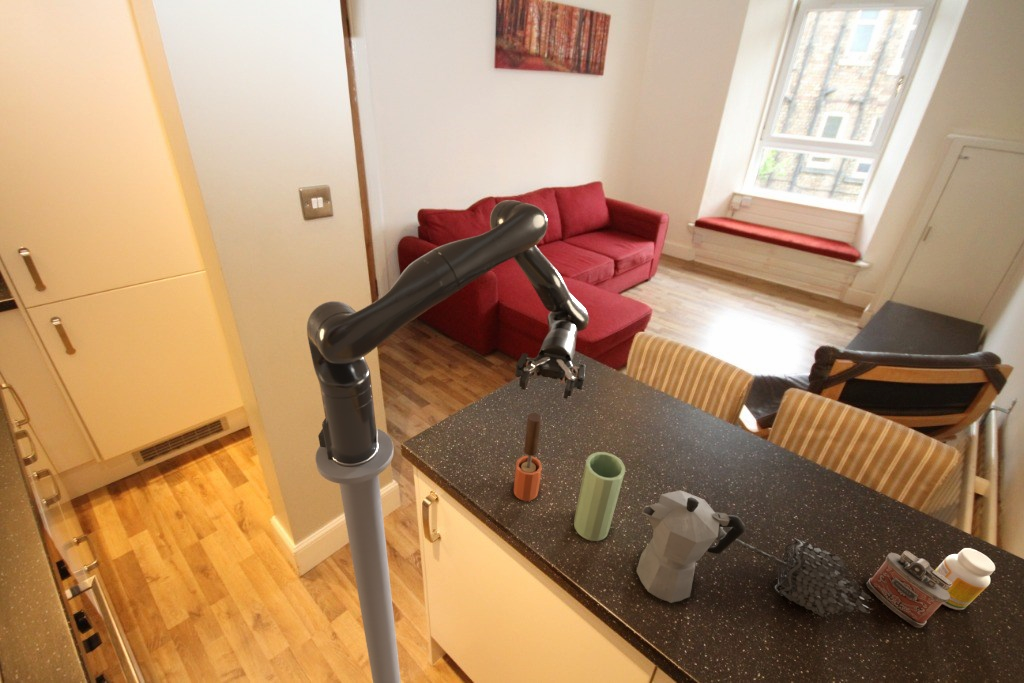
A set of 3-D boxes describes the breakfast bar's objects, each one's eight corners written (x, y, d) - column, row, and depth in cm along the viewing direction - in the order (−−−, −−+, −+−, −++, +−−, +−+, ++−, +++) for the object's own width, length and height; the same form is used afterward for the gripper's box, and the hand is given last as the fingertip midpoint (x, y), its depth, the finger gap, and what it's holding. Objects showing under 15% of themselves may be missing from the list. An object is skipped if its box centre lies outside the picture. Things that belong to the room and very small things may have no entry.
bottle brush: (518, 494, 86) (526, 421, 77) (518, 483, 88) (526, 411, 79) (533, 495, 86) (542, 422, 77) (532, 484, 88) (542, 412, 79)
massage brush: (714, 530, 82) (730, 495, 78) (855, 598, 73) (882, 562, 68) (704, 569, 75) (720, 533, 71) (858, 650, 65) (889, 614, 61)
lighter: (862, 585, 75) (891, 547, 70) (873, 577, 76) (902, 539, 71) (917, 631, 69) (953, 593, 64) (927, 621, 70) (964, 583, 65)
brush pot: (513, 500, 85) (515, 473, 82) (513, 480, 89) (516, 455, 86) (538, 501, 85) (542, 475, 82) (537, 482, 89) (541, 456, 86)
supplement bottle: (916, 582, 76) (947, 546, 71) (939, 576, 77) (971, 540, 72) (950, 614, 71) (985, 578, 67) (973, 607, 73) (1010, 571, 68)
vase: (575, 539, 78) (588, 478, 71) (572, 510, 84) (584, 450, 77) (611, 542, 79) (628, 481, 71) (605, 512, 84) (621, 453, 77)
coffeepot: (627, 599, 70) (653, 522, 61) (620, 545, 78) (642, 471, 69) (727, 611, 69) (768, 536, 60) (709, 556, 77) (743, 483, 68)
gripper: (528, 330, 101) (510, 367, 87) (591, 341, 98) (583, 381, 84) (525, 358, 104) (508, 398, 90) (586, 370, 102) (577, 413, 88)
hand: (544, 390), depth 87 cm, fingers open, 8 cm apart
